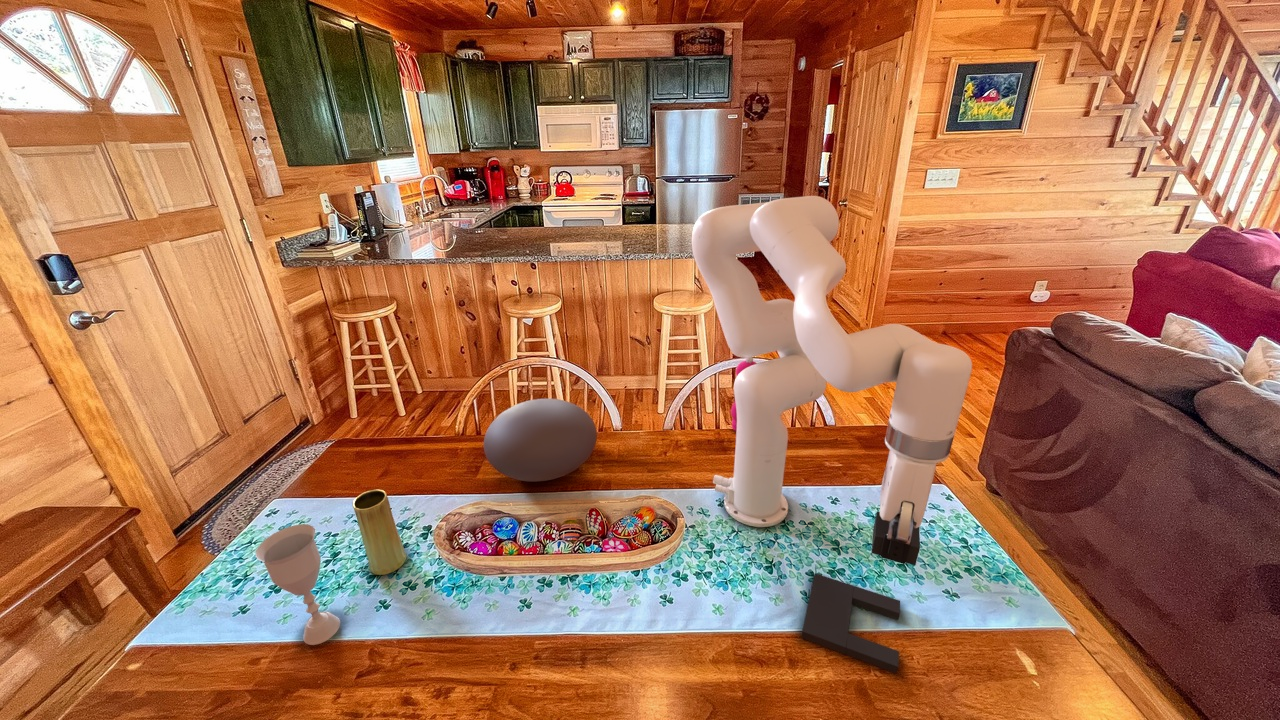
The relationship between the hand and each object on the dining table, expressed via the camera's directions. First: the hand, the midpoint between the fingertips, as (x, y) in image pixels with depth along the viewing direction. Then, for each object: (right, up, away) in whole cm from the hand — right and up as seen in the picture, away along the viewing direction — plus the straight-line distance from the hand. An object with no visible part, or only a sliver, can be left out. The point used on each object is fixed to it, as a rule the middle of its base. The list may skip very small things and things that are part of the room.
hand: (893, 542), depth 73 cm
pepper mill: (-10, +9, +57) cm, 58 cm away
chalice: (-86, -16, +6) cm, 88 cm away
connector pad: (0, -1, 0) cm, 1 cm away
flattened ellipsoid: (-59, +2, +44) cm, 73 cm away
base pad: (-4, -14, +5) cm, 16 cm away
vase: (-82, -10, +18) cm, 84 cm away
